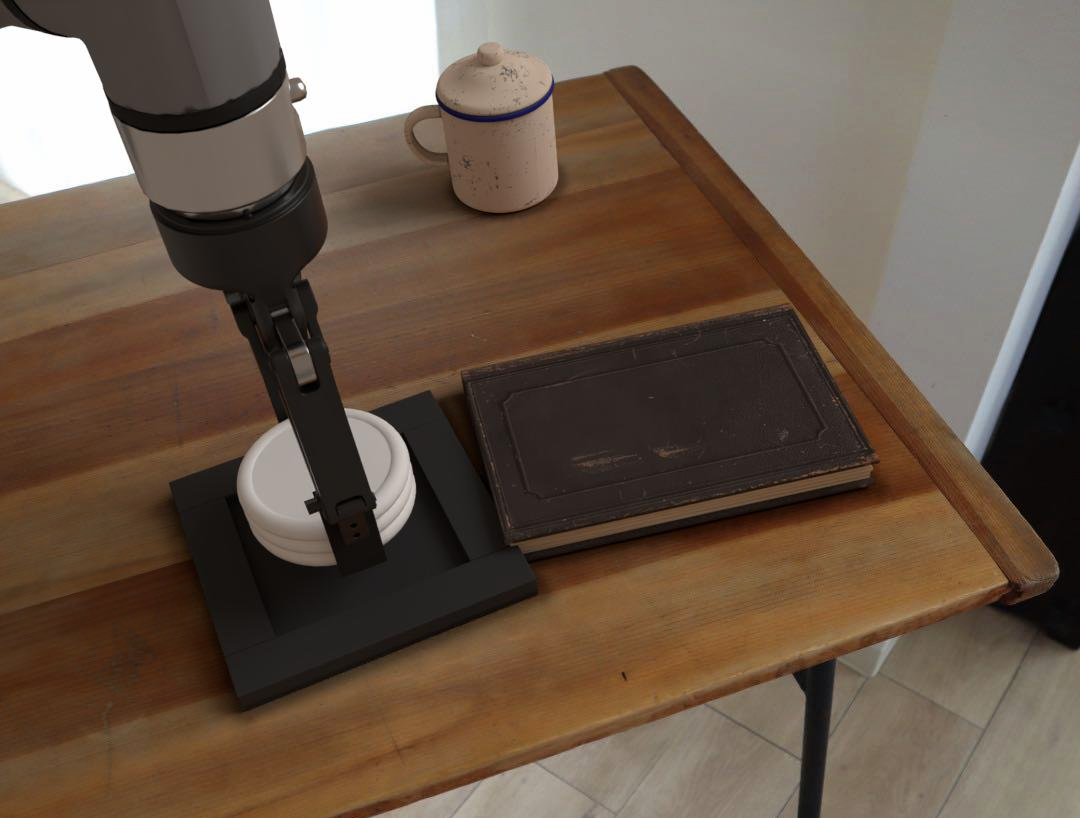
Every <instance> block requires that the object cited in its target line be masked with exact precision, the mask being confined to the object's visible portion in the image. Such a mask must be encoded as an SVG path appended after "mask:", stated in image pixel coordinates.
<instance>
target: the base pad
mask: <svg viewBox="0 0 1080 818" xmlns="http://www.w3.org/2000/svg"><path fill="white" fill-rule="evenodd" d="M367 412H368V413H371V414H373V415H375V416H378V417H379V418H381V419H383V420H385V421H386V422H387V423H389V424H390V425H391V426H392V427H393V428H394V429H395V430H396V431H397V432H398V433H399V435H400V436H401V437H402V439H403V441H404V442H405V444H406V447H407V449H408V453H409V458H410V462H411V465H412V471H413V475H414V478H415V483H416V495H415V501H414V506H413V509H412V511H411V514H410V516H409V518H408V520H407V521H406V523H405V524H404V526H403V527H402V529H401V530H400V531H399V532H398V533H397V534H396V535H395V536H394V537H393V538H392V539H391V540H390V541H388V542H387V543H386V544H384V545H383V546H384V550H385V553H386V557H387V560H388V561H385V562H383V563H380V564H377V565H375V566H372V567H370V568H367V569H364V570H362V571H359V572H357V573H354V574H351V575H349V576H346V577H344V578H342V576H341V573H340V571H339V568H338V566H337V565H331V566H306V565H300V564H295V563H292V562H289V561H286V560H283V559H281V558H279V557H277V556H275V555H274V554H273V553H271V552H270V551H268V550H267V549H266V548H265V547H264V546H263V545H262V544H261V543H260V542H259V541H258V540H257V538H256V537H255V536H254V534H253V532H252V530H251V528H250V525H249V522H248V520H247V518H246V516H245V513H244V510H243V508H242V506H241V503H240V501H239V497H238V493H237V476H238V471H239V468H240V464H241V462H242V460H243V458H244V456H245V455H246V454H244V455H242V456H241V455H240V456H239V457H236V458H233V459H230V460H228V461H225V462H221V463H219V464H217V465H214V466H211V467H208V468H206V469H202V470H199V471H197V472H194V473H191V474H188V475H185V476H182V477H180V478H176V479H174V480H171V481H169V482H168V485H169V488H170V491H171V495H172V498H173V501H174V504H175V508H176V511H177V514H178V516H179V517H178V518H179V520H180V523H181V526H182V529H183V532H184V536H185V539H186V542H187V545H188V548H189V552H190V555H191V558H192V561H193V564H194V567H195V571H196V573H197V577H198V580H199V583H200V586H201V589H202V592H203V595H204V598H205V602H206V605H207V608H208V611H209V614H210V617H211V620H212V624H213V627H214V630H215V633H216V636H217V639H218V642H219V647H220V648H221V652H222V655H223V657H224V658H223V659H224V661H225V664H226V668H227V670H228V673H229V676H230V681H231V683H232V687H233V689H234V692H235V696H236V698H237V700H238V702H239V704H240V707H241V708H242V711H244V712H247V711H250V710H252V709H255V708H256V707H259V706H262V705H264V704H267V703H270V702H272V701H275V700H277V699H279V698H282V697H285V696H287V695H289V694H292V693H294V692H296V691H299V690H302V689H304V688H307V687H310V686H312V685H314V684H317V683H320V682H322V681H324V680H327V679H329V678H332V677H334V676H336V675H339V674H342V673H345V672H347V671H349V670H352V669H354V668H356V667H359V666H361V665H364V664H367V663H369V662H372V661H374V660H377V659H379V658H382V657H384V656H388V655H389V654H391V653H394V652H397V651H399V650H402V649H404V648H407V647H409V646H412V645H414V644H417V643H419V642H421V641H424V640H427V639H429V638H432V637H434V636H437V635H439V634H441V633H444V632H446V631H449V630H451V629H454V628H456V627H459V626H462V625H465V624H467V623H469V622H471V621H474V620H476V619H479V618H481V617H484V616H486V615H487V616H488V615H489V614H491V613H494V612H497V611H500V610H502V609H504V608H507V607H510V606H512V605H514V604H517V603H520V602H522V601H524V600H527V599H530V598H531V597H534V596H536V595H539V593H540V592H539V587H538V578H537V577H536V574H535V572H533V570H532V568H531V566H530V564H529V561H527V560H526V559H525V557H524V555H523V553H522V552H521V550H520V548H519V546H518V545H515V546H510V544H509V545H505V541H504V537H503V534H502V530H501V526H500V522H499V518H498V514H497V511H496V507H495V504H494V502H493V500H492V498H491V495H490V492H489V490H488V489H487V488H486V486H485V484H484V482H483V480H482V479H481V476H480V475H479V474H478V472H477V470H476V468H475V467H474V465H473V462H472V460H471V459H470V458H469V456H468V454H467V452H466V451H465V449H464V447H463V445H462V443H461V441H460V440H459V438H458V436H457V435H456V433H455V430H453V427H452V425H451V424H450V422H449V420H448V419H447V417H446V415H445V413H444V412H443V410H442V408H441V406H440V405H439V403H438V401H437V400H436V398H435V396H434V394H433V392H432V391H431V389H428V390H427V389H426V390H425V391H422V392H419V393H416V394H413V395H410V396H408V397H405V398H402V399H398V400H396V401H394V402H391V403H387V404H385V405H381V406H380V407H376V408H374V409H371V410H369V411H367Z"/></svg>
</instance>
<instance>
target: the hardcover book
mask: <svg viewBox="0 0 1080 818" xmlns="http://www.w3.org/2000/svg"><path fill="white" fill-rule="evenodd" d="M793 307H794V306H793V305H792V304H791V303H789V302H786V303H780V304H776V305H772V306H765V307H762V308H757V309H751V310H748V311H741V312H737V313H733V314H728V315H724V316H718V317H714V318H709V319H704V320H699V321H694V322H689V323H685V324H684V323H683V324H679V325H675V326H670V327H665V328H661V329H656V330H651V331H645V332H641V333H636V334H631V335H627V336H622V337H617V338H612V339H609V340H603V341H599V342H593V343H588V344H584V345H583V344H582V345H578V346H574V347H569V348H565V349H559V350H555V351H554V350H553V351H550V352H544V353H540V354H536V355H531V356H526V357H521V358H516V359H511V360H506V361H501V362H496V363H491V364H487V365H483V366H477V367H473V368H469V369H468V368H467V369H463V370H460V377H461V384H462V389H463V393H464V398H465V402H466V406H467V410H468V413H469V417H470V421H471V425H472V427H473V428H472V429H473V433H474V436H475V441H476V444H477V448H478V451H479V456H480V461H481V463H482V468H483V471H484V475H485V478H486V483H487V488H488V492H489V495H490V496H491V498H492V500H493V502H494V504H495V507H496V511H497V514H498V518H499V522H500V526H501V530H502V534H503V537H504V541H505V545H509V544H510V546H515V545H518V546H519V548H520V550H521V552H522V553H523V555H524V557H525V559H526V560H527V562H530V561H534V560H540V559H544V558H545V559H546V558H549V557H553V556H558V555H563V554H567V553H571V552H576V551H580V550H584V549H590V548H594V547H598V546H603V545H608V544H612V543H617V542H622V541H625V540H630V539H634V538H640V537H644V536H649V535H652V534H657V533H658V534H659V533H662V532H666V531H671V530H676V529H680V528H685V527H690V526H693V525H698V524H702V523H708V522H712V521H716V520H720V519H721V520H722V519H725V518H730V517H735V516H740V515H743V514H744V515H745V514H748V513H752V512H756V511H757V512H758V511H762V510H765V509H770V508H775V507H780V506H783V505H784V506H785V505H789V504H794V503H798V502H803V501H807V500H812V499H816V498H820V497H824V496H830V495H835V494H838V493H843V492H847V491H852V490H857V489H861V488H866V487H870V486H875V485H876V484H877V483H876V480H875V478H874V477H873V476H874V475H872V473H871V472H873V471H874V467H873V465H878V464H880V463H881V460H880V458H879V456H878V454H877V453H876V451H875V449H874V447H873V445H872V444H871V442H870V440H869V439H868V436H867V435H866V433H865V432H864V430H863V428H862V426H861V425H860V423H859V421H858V419H857V417H856V416H855V414H854V413H853V411H852V409H851V407H850V405H849V403H848V402H847V400H846V398H845V397H844V395H843V393H842V391H841V390H840V388H839V386H838V384H837V382H836V381H835V379H834V377H833V376H832V374H831V372H830V370H829V369H828V367H827V365H826V364H825V362H824V359H823V357H822V356H821V354H820V353H819V351H818V349H817V347H816V346H815V344H814V342H813V341H812V339H811V337H810V336H809V334H808V332H807V330H806V329H805V327H804V325H803V323H802V321H801V319H800V317H799V316H798V314H797V312H796V310H795V309H794V308H793Z"/></svg>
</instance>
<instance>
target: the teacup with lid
mask: <svg viewBox="0 0 1080 818" xmlns="http://www.w3.org/2000/svg"><path fill="white" fill-rule="evenodd" d="M554 90H555V78H554V75H553V73H552V71H551V69H550V67H549V66H548V65H547V64H546V63H545V61H543V60H542V59H541V58H539V57H537V56H535V55H533V54H531V53H528V52H525V51H520V50H516V49H504V47H503V45H501V43H499V42H495V41H488V42H484V43H482V44H481V45H479V47H478V48H477V51H476V52H475V53H471V54H469V55H466V56H463V57H461V58H460V59H458V60H456V61H454V62H452V63H451V64H450V65H448V66H447V67H446V68H445V69H444V70H443V71H442V72H441V74H440V76H439V77H438V80H437V82H436V86H435V93H434V95H435V100H436V103H437V104H427V105H422V106H419V107H416V108H415V109H413V110H412V111H411V112H410V113H409V114H408V115H407V117H406V118H405V121H404V126H403V135H404V139H405V143H406V144H407V147H408V149H409V150H410V152H411V154H413V155H414V156H415V157H416V158H417V159H418V160H420V161H421V162H422V163H425V164H427V165H430V166H434V167H449V171H450V176H451V183H452V188H453V189H452V190H453V191H454V194H455V196H456V197H457V198H458V199H459V200H460V201H461V203H463V204H465V205H466V206H468V207H470V208H472V209H474V210H476V211H481V212H484V213H485V212H486V213H491V214H492V213H494V214H506V213H514V212H519V211H523V210H526V209H528V208H531V207H533V206H536V205H537V204H539V203H541V202H543V201H544V200H545V199H547V198H548V197H549V196H550V195H551V193H553V191H555V188H556V187H557V184H558V182H559V165H558V152H557V142H556V140H557V139H556V127H555V116H554V115H555V113H554V102H553V92H554ZM429 119H430V120H431V119H441V120H442V125H443V132H444V133H443V134H444V139H445V144H446V146H445V147H446V152H435V151H431V150H429V149H427V148H425V147H424V146H423V145H422V144H421V142H419V141H418V139H417V136H415V133H414V127H415V126H416V125H418V124H419V123H420V122H422V121H424V120H429Z"/></svg>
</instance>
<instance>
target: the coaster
mask: <svg viewBox="0 0 1080 818" xmlns="http://www.w3.org/2000/svg"><path fill="white" fill-rule="evenodd" d="M344 410H345V413H346V416H347V419H348V422H349V425H350V428H351V431H352V434H353V437H354V440H355V443H356V446H357V449H358V452H359V455H360V458H361V461H362V464H363V468H364V471H365V474H366V477H367V480H368V483H369V486H370V489H371V491H372V492H374V494H375V497H376V500H377V501H376V504H377V506H376V509H373V512H374V515H375V519H376V522H377V526H378V529H379V533H380V536H381V539H382V543H383V545H384V544H386V543H387V542H388V541H390V540H391V539H392V538H393V537H394V536H395V535H396V534H397V533H398V532H399V531H400V530H401V529H402V527H403V526H404V524H405V523H406V521H407V520H408V518H409V516H410V514H411V511H412V509H413V506H414V501H415V495H416V483H415V478H414V475H413V471H412V465H411V462H410V458H409V453H408V449H407V447H406V444H405V442H404V441H403V439H402V437H401V436H400V435H399V433H398V432H397V431H396V430H395V429H394V428H393V427H392V426H391V425H390V424H389V423H387V422H386V421H385V420H383V419H381V418H379V417H378V416H375V415H373V414H371V413H368V411H364V410H360V409H356V408H350V407H349V408H347V407H344ZM244 455H245V456H244ZM244 455H243V456H244V458H243V460H242V462H241V464H240V468H239V471H238V476H237V493H238V497H239V501H240V503H241V506H242V508H243V510H244V513H245V516H246V518H247V520H248V522H249V525H250V528H251V530H252V532H253V534H254V536H255V537H256V538H257V540H258V541H259V542H260V543H261V544H262V545H263V546H264V547H265V548H266V549H267V550H268V551H270V552H271V553H273V554H274V555H275V556H277V557H279V558H281V559H283V560H286V561H289V562H292V563H295V564H300V565H306V566H331V565H337V563H336V560H335V557H334V554H333V551H332V548H331V545H330V542H329V540H328V537H327V534H326V531H325V528H324V525H323V522H322V519H321V516H320V513H319V512H317V513H314V514H311V515H309V513H308V511H307V508H306V506H305V503H304V501H306V500H309V499H311V498H314V496H313V493H312V492H314V491H315V488H314V485H313V483H312V480H311V477H310V475H309V472H308V469H307V467H306V464H305V461H304V459H303V456H302V453H301V451H300V448H299V445H298V443H297V440H296V437H295V435H294V432H293V429H292V427H291V424H290V421H289V419H287V420H285V421H283V422H281V423H277V424H276V425H274V426H273V427H270V429H268V430H267V431H265V432H264V433H263V434H262V435H261V436H260V437H259V438H258V439H256V440H255V442H254V443H253V444H252V445H251V446H250V447H249V448H248V450H247V452H246V453H245V454H244Z"/></svg>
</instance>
